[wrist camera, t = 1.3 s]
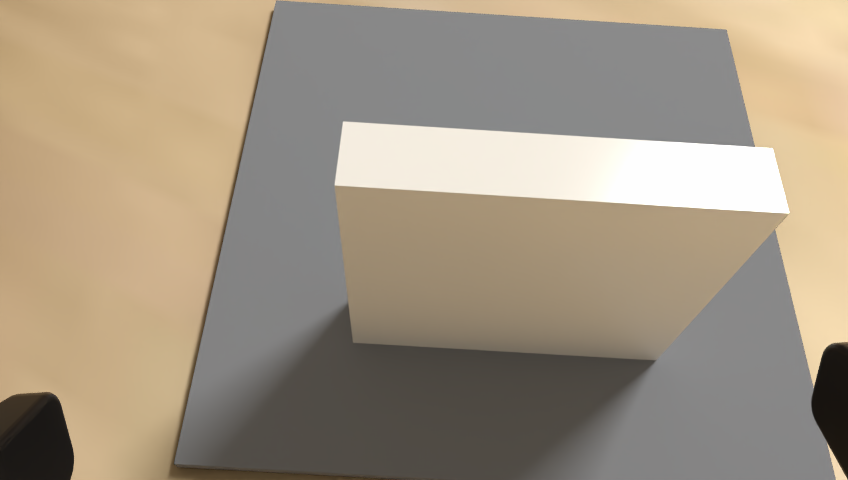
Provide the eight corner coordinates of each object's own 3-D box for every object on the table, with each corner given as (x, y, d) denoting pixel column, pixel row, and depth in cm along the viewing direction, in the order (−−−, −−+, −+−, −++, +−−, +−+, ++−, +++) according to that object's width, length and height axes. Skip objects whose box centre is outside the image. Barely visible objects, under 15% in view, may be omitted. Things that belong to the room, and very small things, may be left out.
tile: (656, 360, 23) (789, 213, 16) (352, 342, 23) (334, 185, 15) (648, 305, 24) (770, 141, 17) (358, 287, 24) (343, 114, 16)
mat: (833, 503, 22) (841, 501, 21) (177, 466, 21) (173, 463, 21) (722, 36, 32) (726, 29, 31) (277, 7, 31) (276, 0, 31)
